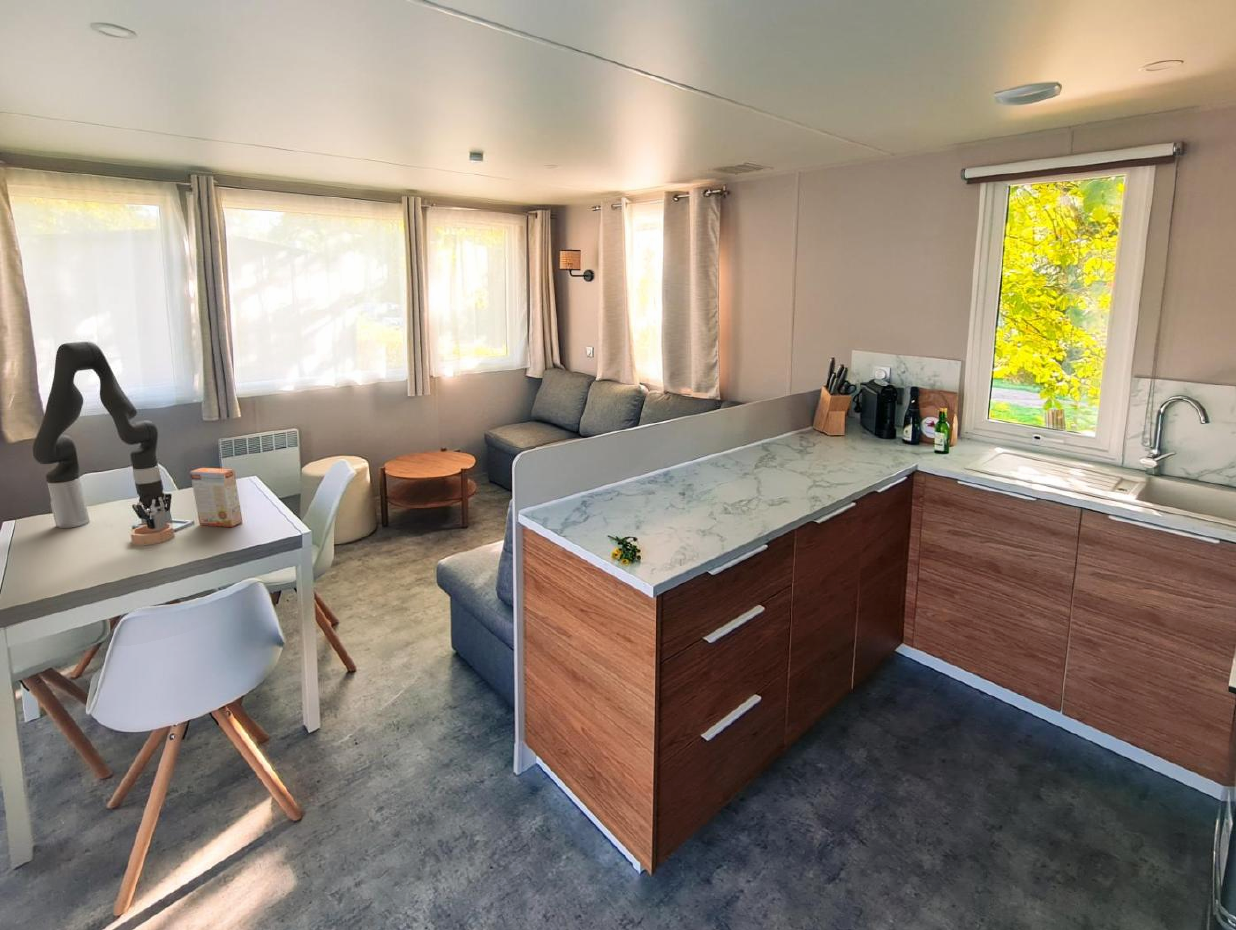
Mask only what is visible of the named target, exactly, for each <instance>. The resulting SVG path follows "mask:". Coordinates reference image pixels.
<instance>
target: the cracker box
mask: <svg viewBox="0 0 1236 930" xmlns="http://www.w3.org/2000/svg"><path fill="white" fill-rule="evenodd" d="M189 472H190V478H191V485H192V489H193V490H192V491H193V494H194V500H195V505H196V506H195V507H196V511H197V517H198V522H199V523H198V524H199V526H200V525H201V526H212V527H225V528H233V527H235V526H237V525H240V524H241V523H243V515H242V510H241V505H240V504H241V503H240V498H239V492H238V485H237V479H236V474H235V470H234V469H231V468H227V469H226V468H216V467H215V468H211V467H200V468H197V469H193V470H191V471H189Z"/></svg>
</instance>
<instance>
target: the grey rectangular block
mask: <svg viewBox="0 0 1236 930" xmlns="http://www.w3.org/2000/svg"><path fill="white" fill-rule="evenodd" d="M148 515H149V513H148ZM153 520H154V525H155V529H149V528H148V529H149V530H160V529H162V528H165V527H167V526H168V525H167V520H166V515H165V511H154V512H153Z"/></svg>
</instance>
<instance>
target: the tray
mask: <svg viewBox="0 0 1236 930" xmlns="http://www.w3.org/2000/svg"><path fill="white" fill-rule="evenodd" d="M172 523H173V528H174V533H175V532H178V531H180V530H182V529H185V528H187V527H189V526H191V525H194V524H195V521H194V520H187V519H179V518H178V519H175V518H172ZM141 526H142V521H141V522H138V523H136V524H133V525H131V527H132V529H136V528H138V527H141Z"/></svg>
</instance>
